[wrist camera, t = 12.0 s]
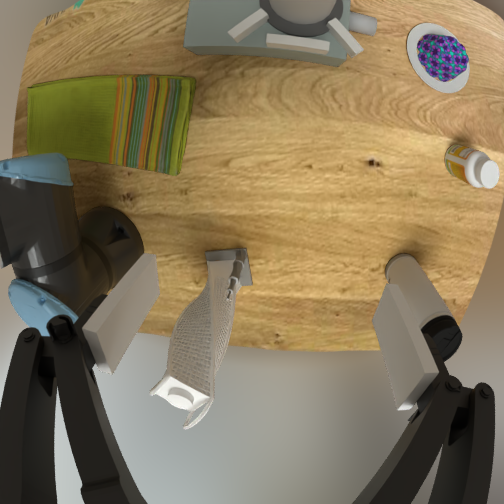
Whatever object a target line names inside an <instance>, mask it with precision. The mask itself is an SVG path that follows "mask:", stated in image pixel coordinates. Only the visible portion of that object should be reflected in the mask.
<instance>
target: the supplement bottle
mask: <svg viewBox="0 0 504 504" xmlns="http://www.w3.org/2000/svg"><path fill="white" fill-rule="evenodd" d="M445 165H446V168H447V170H448V172H449V173H450V174H451V175H453V176H455V177H457V178H459V179H461V180H463V181H464V182H466V183H468V184H470V185H472V186H474V187H478V188H480V187H486V188H493V187H494V186H495V185H496V184H497V182H498V180H499V168H498V166H497V164H496V163H495V162H494V161H492V160H490V158H489V157H488V156H487V155H486V154H485V153H483V152H481V151H478V150H475V149H472V148H469V147H465V146H462V145H453V146H451V147H450V148H449V149H448V150H447V152H446V155H445Z"/></svg>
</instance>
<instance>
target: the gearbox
mask: <svg viewBox="0 0 504 504" xmlns="http://www.w3.org/2000/svg"><path fill="white" fill-rule="evenodd" d="M376 29H377V19H376V18H374V17H370V16H367V15H363V14H359V13H355V12H351V11H350V0H336V3H335V5H334V7H333V9H332V11H331V13H330V15H329V16H327V17H326V18H325V19H324V20H322V21H319V22H317V23H313V24H296V23H293V22H290V21H287V20H285V19H283V18H282V17H280V16H279V15H277V14H276V12H275V11H274V10H273V9H272V7H271V4H270V1H269V0H190V3H189V9H188V16H187V22H186V30H185V37H184V45H183V47H184V48H186V49H188V50H190V51H191V52H193V53H195V54H196V55H247V56H262V57H273V58H283V59H291V60H299V61H306V62H312V63H318V64H324V65H329V66H334V67H339V66H340V65H341V64H342V63H343V62H344V61H346V57H347V53H348V54H349V56H350V57H351V58H353V57H354V56H356V55H358V54H359V53H361V52H362V51H363V50H364V49H363V48H362V47H361V46H360V44H359V43H358V42H357V41H356V40H355V39H354V37H353V36H352V35H351V34H350V33H349V30H350V31H354V32H358V33H362V34H366V35H370V36H374V35H375V32H376Z"/></svg>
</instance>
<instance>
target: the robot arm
mask: <svg viewBox="0 0 504 504" xmlns="http://www.w3.org/2000/svg"><path fill="white" fill-rule="evenodd" d="M72 186H73V182H72V181H71V176H70V171H69V164H68V160H67V158H66V157H65V156H64V155H63V154H61V153H45V154H37V155H30V156H23V157H17V158H12V159H6V160H2V161H0V268H3V267H6V266H7V265H9V264H12V267H13V270H14V273H15V276H16V279H14V280H12V282H11V284H10V286H9V292H8V294H9V298H10V301H11V304H12V305H13V307H14V309H15V310H16V312H17V313H18V315H19V316H20V317H21V318H22V320H23V321H24V322H25V323H26V324H27V325H28V326H29V327H30V328H26V329H24V330H23V331H22V332H21V333H20V334H19V336H18V339H17V342H16V345H15V349H14V352H13V355H12V359H11V362H10V366H9V370H8V374H7V378H6V382H5V387H4V392H3V397H2V402H1V407H0V504H57V494H56V482H55V463H54V428H55V407H56V394H57V386H58V391H59V398H60V403H61V408H62V413H63V417H64V422H65V426H66V430H67V435H68V438H69V442H70V446H71V449H72V453H73V456H74V459H75V463H76V466H77V469H78V472H79V475H80V478H81V480H82V488H81V495H82V498H83V501H84V503H85V504H147V502H146V501H145V500H144V498H143V497H142V495H141V493H140V492H139V490H138V488H137V486H136V484H135V482H134V480H133V478H132V476H131V473H130V472H129V469H128V467H127V465H126V463H125V461H124V458H123V456H122V453H121V451H120V449H119V446H118V444H117V441H116V439H115V436H114V433H113V431H112V428H111V425H110V423H109V420H108V417H107V414H106V411H105V408H104V405H103V402H102V399H101V395H100V392H99V389H98V386H97V382H96V378H95V375H94V371H93V369H92V368H93V366H94V364H95V363H96V364H97V367H98V369H99V371H102V372H105V373H108V374H111V375H113V373H114V371H115V370H116V368H117V366H118V364H119V362H120V361H121V359H122V357H123V355H124V354H125V352H126V350H127V348H128V347H129V345H130V343H131V341H132V340H133V338H134V336H135V335H136V333H137V331H138V329H139V328H140V326H141V324H142V323H143V321H144V319H145V318H146V316H147V314H148V313H149V311H150V309H151V308H152V306H153V304H154V303H155V301H156V300H157V298H158V296H159V295H160V291H159V282H158V273H157V262H156V255H154V254H147V253H144V249H143V243H142V240H141V237H140V235H139V233H138V231H137V229H136V227H135V226H134V225H133V223H132V222H131V221H130V220H129V219H128V218H127V217H126V216H125V215H123V214H122V213H121V212H119V211H117V210H115V209H112V208H109V207H97V208H94V209H92V210H90V211H89V212H87V213H85V214H84V215H83V216H82V217H81V218H80V219H79V220H78V219H77V213H76V207H75V201H74V194H73V187H72ZM113 288H114V289H113ZM110 289H113V290H112V291H111V292H110V293H109V295H106V294H107V292H108V291H109V290H110ZM372 322H373V325H374V328H375V331H376V335H377V338H378V341H379V344H380V348H381V351H382V354H383V358H384V362H385V365H386V369H387V372H388V376H389V380H390V383H391V387H392V391H393V395H394V399H395V403H396V408H397V410H408V409H411V408H412V407H413V406H414V404H415V403H416V402H417V405H418V409H417V410H416V412H415V413H414V414H413V415H412V416H411V417H410V418H409V420H408V421H410V422H409V424H408V426H407V427H406V429H405V431H404V432H403V434H402V436H401V437H400V439H399V441H398V442H397V444H396V445H395V447H394V448H393V450H392V451H391V453H390V455H389V456H388V457H387V459H386V460H385V462H384V463H383V465H382V466H381V467H380V469H379V470H378V472H377V473H376V474H375V476H374V477H373V478H372V480H371V481H370V482H369V484H368V485H367V486H366V487H365V489H364V490H363V491H362V492H361V494H360V495H359V496H358V497H357V498H356V500H355V501H354V502H353V503H352V504H411V502H412V501H413V499H414V497H415V496H416V494H417V493H418V491H419V489H420V487H421V485H422V484H423V482H424V480H425V479H426V477H427V475H428V473H429V471H430V469H431V467H432V465H433V463H434V461H435V459H436V457H437V455H438V453H439V451H440V449H441V447H442V444H443V447H442V453H441V457H440V462H439V466H438V470H437V474H436V478H435V482H434V485H433V489H432V493H431V496H430V499H429V502H428V504H487V499H488V493H489V488H490V481H491V474H492V464H493V455H494V439H495V398H494V397H495V396H494V392H493V390H492V388H491V387H490V386H489V385H488V384H486V383H482V382H481V383H478V384H477V385H476V387H475V388H474V389H471V388H466V387H463V386H462V384H461V382H460V381H459V380H458V379H457V378H456V377H454V376H451V375H449V373H448V371H447V368H446V366H445V364H444V361H443V359H442V357H441V355H440V352H439V350H438V349H437V346H436V344H435V342H434V340H433V339H432V338H431V337H430V336H429V335H428V334H422V332H421V330H420V328H419V326H418V323H417V321H416V319H415V317H414V315H413V313H412V311H411V309H410V307H409V305H408V303H407V301H406V299H405V297H404V295H403V293H402V292H401V290H400V288H399V286H398V285H396V284H387V283H386V286H385V289H384V291H383V294H382V297H381V299H380V302H379V305H378V307H377V310H376V312H375V315H374V317H373V319H372Z"/></svg>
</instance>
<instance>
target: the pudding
mask: <svg viewBox="0 0 504 504" xmlns="http://www.w3.org/2000/svg"><path fill="white" fill-rule="evenodd" d="M425 34H427V35H425ZM432 34H436V35H432ZM423 35H425V36H423ZM422 36H423V40H421V41H419V42H418V40H419V39H420V38H421V37H422ZM417 43H418V44H417ZM417 48H418V50H419V54H418V56H417ZM407 51H408V56H409V59H410V62H411V64H412V66H413V68H414V69H415V71H416V73H417V74H418V75H419V76H420V78H421V79H422V80H423V81H424V82H425V83H426V84H428V85H429V86H430V87H432V88H434V89H435V90H437V91H440V92H444V93H454V92H457V91H459V90H461V89H462V88H463V87H464V86H465V84H466V83H467V80H468V78H469V58H468V55H467V54H466V50H465V48H464V46H463V45H462V44H461V43H460V42H459V41H458V39H457V38H456V37H455V36H454V35H453V34H452V33H451V32H449V31H448V30H447V29H445V28H443V27H442V26H439V25H437V24H433V23H422V24H419V25H417V26H415V27H414V28H413V29H412V30H411V32H410V33H409V36H408V40H407ZM419 61H420V62H419ZM420 63H421V64H422V65H423V66H425V68H426V71H425V70H424V69H423V67H422V66H421V64H420ZM431 76H432V77H438V78H439V80H440V81H438V80H436V79H434V78H432V77H431ZM455 77H456V78H455ZM454 78H455V79H454ZM450 79H454V80H452V81H450V82H446V81H448V80H450ZM441 81H443V82H441Z"/></svg>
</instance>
